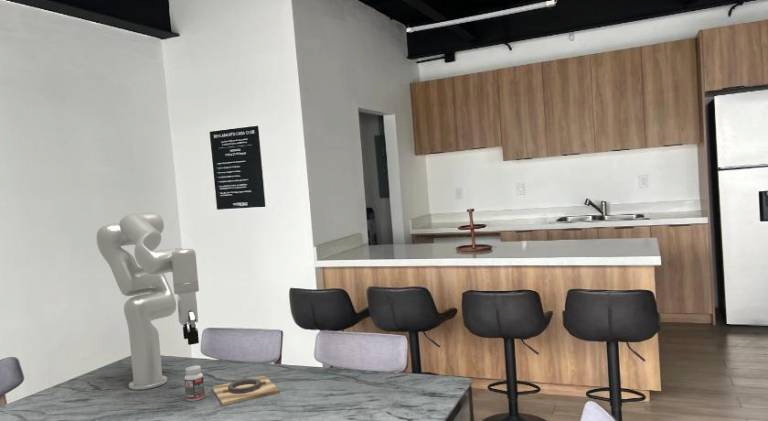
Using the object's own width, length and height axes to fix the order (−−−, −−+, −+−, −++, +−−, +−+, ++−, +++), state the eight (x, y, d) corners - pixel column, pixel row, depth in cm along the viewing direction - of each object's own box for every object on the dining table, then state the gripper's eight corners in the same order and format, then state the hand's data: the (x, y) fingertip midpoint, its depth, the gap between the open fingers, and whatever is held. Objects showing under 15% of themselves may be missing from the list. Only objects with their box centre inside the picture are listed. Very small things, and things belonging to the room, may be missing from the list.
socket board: (211, 389, 192) (211, 382, 191) (264, 378, 200) (264, 371, 200) (222, 405, 175) (221, 397, 175) (279, 392, 183) (279, 385, 183)
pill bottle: (198, 401, 181) (196, 370, 181) (182, 401, 182) (179, 370, 182) (208, 395, 187) (205, 364, 186) (192, 395, 188) (189, 365, 187)
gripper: (170, 287, 189) (175, 338, 190) (177, 292, 174) (182, 348, 174) (194, 283, 193) (199, 334, 193) (202, 288, 177) (208, 343, 178)
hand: (191, 341), depth 184 cm, fingers open, 9 cm apart
